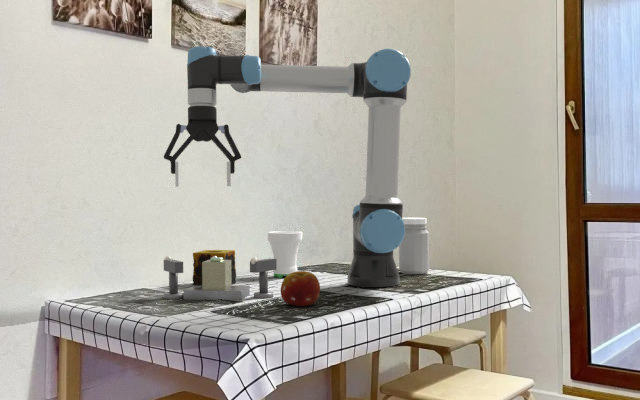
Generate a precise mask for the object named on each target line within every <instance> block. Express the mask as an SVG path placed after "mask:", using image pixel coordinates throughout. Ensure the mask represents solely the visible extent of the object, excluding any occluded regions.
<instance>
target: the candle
mask: <svg viewBox="0 0 640 400" xmlns="http://www.w3.org/2000/svg"><path fill="white" fill-rule="evenodd" d="M213 256H216V257H223V260H231V284H232V285H234V284H236V283H237V271H236V270H237V269H236V250H235V249H204V250H200V251H195V252H192V259H193V264H192V266H193V271H192V286H194V285H202V262H204V261H207V260H211V258H212V257H213Z"/></svg>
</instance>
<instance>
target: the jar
mask: <svg viewBox="0 0 640 400" xmlns="http://www.w3.org/2000/svg"><path fill="white" fill-rule="evenodd" d="M402 220H403V222H404V226H405V235H404V239H403V241H402V243H401V244H400V245H399V246H398V270H399V271H400V273H401V274H402V275H403V274H405V275H425V274H427V273H428V271H429V270H430V232H429V231H428V230H427V228H428V226H426V225H427V224H428V219H427V218H426V217H402Z"/></svg>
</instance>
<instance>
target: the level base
mask: <svg viewBox="0 0 640 400" xmlns="http://www.w3.org/2000/svg"><path fill="white" fill-rule="evenodd" d="M250 288H251V287H250V285H233V284H231V260H223V257H216V256H213V257H212V258H211V260H207V261H204V262H202V285H194V286H193V285H192V286H190V287H187V288H186V289H185V288H184V290H183V293H184V297H183V300H187V301H188V300H191V301H192V300H193V301H195V300H196V301H199V300H201V301H242V299H243V300H244V299H245V297H246V298H247V297H248V295H249V296H250V294H251V291H250ZM205 299H206V300H205ZM218 299H219V300H218ZM220 299H222V300H220Z"/></svg>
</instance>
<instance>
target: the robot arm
mask: <svg viewBox="0 0 640 400" xmlns="http://www.w3.org/2000/svg"><path fill="white" fill-rule="evenodd" d="M261 61H262V60H261V57H259V56H258V55H249V54H246V55H220V54H218V53H217V50H216V49H215V48H214V47H210V46H204V45H203V46H202V45H201V46H200V45H199V46H193V47H191V48H189V49H188V50H187V64H186V69H187V71H186V72H187V74H186V75H187V105H188V108H187V125H183V124H180V123H177V124H176V126H175V133H174V135H173V137H172V138H171V139H170V140H171V141H170V142H169V144H168V147H167V148H166V150H165V152H164V155H163V159H164V160H167V161H169V162H170V173H171V174H172V175H175V176H174V177H175V182H174V184H175V187H179V184H180V183H179V161H177V159H178V158H179V157H180V156H181V155H182V154H183V152H184V151H185V150H186V149H187V147H188V146H189V145H190V144H191V143H192V142H193V141H195V142H197V143H198V142H199V143H200V142H205V143H206V142H207V143H209V142H212V143H214V144H215V146H216V147H217V148H218V149H219V150H220V151H221V153H222V154H223V155H224V156H225V158H227V159H228V161H227V162H226V186H227V187H231V186H232V185H231V184H232V182H231V180H232V178H231V175H232V174H235V171H236V169H235V168H236V167H235V166H236V165H235V162H236V161H238V160H241V159H242V155H241V153H240V151H239V149H238V147H237V144H236V143H235V140H234V139H233V137H232V135H231V133H230V127H229V125H228V124H224V125H218V122H217V121H218V119H217V117H218V116H217V110H218V109H217V108H216V107H215V106H216V105H217V85H230V87H232V89H233V90H235V91H236V93H237V92H238V93H241V94H245V93H246V94H247V93H250V92H274V93H277V92H280V93H281V92H282V93H283V92H285V93H322V94H323V93H327V94H348V96H349V97H352V98H362V99H363V102H364V104H365V106H367V107H368V114H367V115H368V116H367V117H368V120H367V144H366V145H367V146H366V169H365V170H366V171H365V172H366V177H365V181H366V182H365V196H363V197H362V199H361V200H360V201H359V204H357V205H355V206H354V207H353V209H352V214H351V215H352V216H351V217H352V235H353V236H352V238H353V239H352V244H353V248H352V250H353V252H352V255H353V256H352V260H351V264H350V267H349V271H348V273H347V285H349V286H353V287H359V288H362V287H363V288H385V287H387V288H388V287H389V288H390V287H395V286H398V285H400V280H401V279H400V274H399V271H398V270H399V269H398V267H397V265H396V261H395V259H394V250H396V249H397V248H399V245H400V244H401V243H402V241H403V239H404V235H405V226H404V222H403V220H402V218H403V212H404V211H403V209H404V208H403V205H404V203H403V202H402V200H401V199H400V198H399V197H398V193H399V192H398V191H399V190H398V188H399V163H400V162H399V161H400V159H399V158H400V136H401V135H400V134H401V132H400V131H401V111H402V110H401V108H402V107H403V106H404V105H405V104H406V103H407V98H408V83H409V81H410V78H411V74H412V69H411V65H410V62H409V61H410V60H409V59H408V58H407V57H406V56H405V54H404V53H402V52H401V51H399V50H397V49H394V48H382V49H380V50H377V51H375V52H374V53H372V54H371V55H370V56H369V58H367V61H365V62H358V63H357V62H351V63H350V64H349V65H348V66H338V65H337V66H336V65H335V66H333V65H331V66H330V65H292V64H291V65H288V64H287V65H286V64H283V65H282V64H281V65H279V64H262V62H261ZM184 131H187V133H188V134H189V136H188V137H187V139H186V140H185V141H184V142H183V143H182V144H181V146H179V148H178V149H177V151H175V153H173V154H172V151H173V149H174V147H175V145H176V143H177V141H178V139H179V137H180V135H181V134H184ZM218 131H220V132H221V134H224V137H225V139H226V141H227V143H228V145H229V147H230V149H231V151H232V153H233V155H234V156H233V155H232V154H231V152H230V151H229V150H228V149H227V147H225V145H224V144H223V143H222V142H221V141H220V139H219V138H218V137H217V135H216V134H217V133H218ZM171 154H172V155H171Z"/></svg>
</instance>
